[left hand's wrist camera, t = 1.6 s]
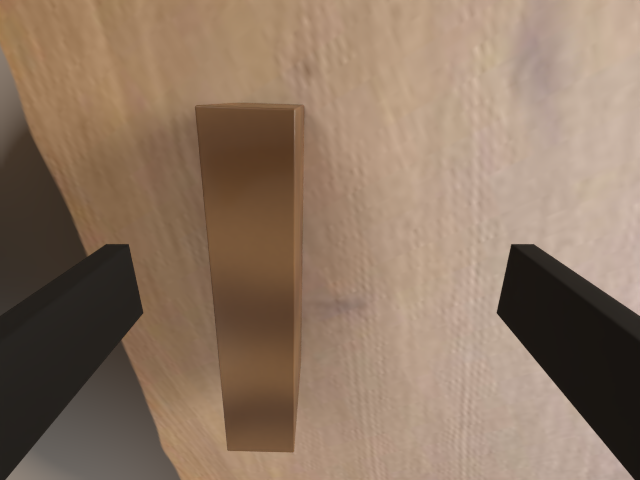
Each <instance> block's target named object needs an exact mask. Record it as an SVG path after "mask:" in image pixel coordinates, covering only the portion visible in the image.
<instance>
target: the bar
mask: <svg viewBox="0 0 640 480" xmlns="http://www.w3.org/2000/svg"><path fill="white" fill-rule="evenodd" d="M195 111H196V122H197V132H198V143H199V153H200V164H201V175H202V185H203V196H204V207H205V217H206V228H207V238H208V249H209V260H210V270H211V281H212V291H213V302H214V313H215V323H216V334H217V344H218V355H219V366H220V376H221V387H222V398H223V408H224V419H225V429H226V440H227V450H228V451H259V452H294V445H295V432H296V419H297V406H298V393H299V380H300V367H301V312H302V234H303V156H304V105H291V104H260V103H227V104H211V105H197V106H195Z"/></svg>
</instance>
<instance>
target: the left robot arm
mask: <svg viewBox="0 0 640 480" xmlns="http://www.w3.org/2000/svg"><path fill="white" fill-rule="evenodd" d="M142 314H143V309H142V305H141V300H140V295H139V291H138V286H137V281H136V277H135V272H134V267H133V263H132V258H131V253H130V249H129V244H106V245H104V246H103V247H102V248H100V249H99V250H97V251H96V252H94V253H93V254H91V255H90V256H88V257H87V258H85V259H84V260H82V261H81V262H79V263H78V264H76V265H75V266H73V267H72V268H71V269H69V270H68V271H66V272H65V273H63V274H62V275H60V276H59V277H57V278H56V279H54V280H53V281H51V282H50V283H48V284H47V285H45V286H44V287H42V288H41V289H40V290H38V291H37V292H35V293H34V294H32V295H31V296H29V297H28V298H26V299H25V300H23V301H22V302H20V303H19V304H17V305H16V306H14V307H13V308H11V309H10V310H9V311H7V312H6V313H4V314H3V315H1V316H0V480H5V479H6V478H7V477H8V476H9V475H10V473H11V472H12V471H13V470H14V469H15V467H16V466H17V465H18V464H19V463H20V461H21V460H22V459H23V458H24V457H25V455H26V454H27V453H28V452H29V451H30V449H31V448H32V447H33V446H34V444H35V443H36V442H37V441H38V440H39V438H40V437H41V436H42V435H43V434H44V432H45V431H46V430H47V429H48V428H49V426H50V425H51V424H52V423H53V422H54V420H55V419H56V418H57V417H58V415H59V414H60V413H61V412H62V411H63V409H64V408H65V407H66V406H67V405H68V403H69V402H70V401H71V400H72V398H73V397H74V396H75V395H76V394H77V392H78V391H79V390H80V389H81V388H82V386H83V385H84V384H85V383H86V382H87V380H88V379H89V378H90V377H91V376H92V374H93V373H94V372H95V371H96V369H97V368H98V367H99V366H100V365H101V363H102V362H103V361H104V360H105V359H106V357H107V356H108V355H109V354H110V353H111V351H112V350H113V349H114V348H115V347H116V345H117V344H118V343H119V342H120V341H121V339H122V338H123V337H124V336H125V335H126V333H127V332H128V331H129V330H130V328H131V327H132V326H133V325H134V324H135V322H136V321H137V320H138V319H139V318H140V316H141V315H142ZM497 314H498V315H499V316H500V318H501V319H502V320H503V321H504V322H505V324H506V325H507V326H508V327H509V328H510V330H511V331H512V332H513V333H514V335H515V336H516V337H517V338H518V339H519V341H520V342H521V343H522V344H523V345H524V347H525V348H526V349H527V350H528V351H529V353H530V354H531V355H532V356H533V357H534V359H535V360H536V361H537V362H538V364H539V365H540V366H541V367H542V368H543V370H544V371H545V372H546V373H547V374H548V376H549V377H550V378H551V379H552V380H553V382H554V383H555V384H556V385H557V386H558V388H559V389H560V390H561V391H562V393H563V394H564V395H565V396H566V397H567V399H568V400H569V401H570V402H571V403H572V405H573V406H574V407H575V408H576V409H577V411H578V412H579V413H580V414H581V415H582V417H583V418H584V419H585V420H586V422H587V423H588V424H589V425H590V426H591V428H592V429H593V430H594V431H595V432H596V434H597V435H598V436H599V437H600V438H601V440H602V441H603V442H604V443H605V444H606V446H607V447H608V448H609V449H610V451H611V452H612V453H613V454H614V455H615V457H616V458H617V459H618V460H619V461H620V463H621V464H622V465H623V466H624V467H625V469H626V470H627V471H628V472H629V473H630V475H631V476H632V477H633V478H634V480H640V316H639V315H637V314H636V313H634V312H633V311H631V310H630V309H629V308H627V307H626V306H624V305H623V304H621V303H620V302H618V301H617V300H615V299H614V298H612V297H611V296H609V295H608V294H606V293H605V292H603V291H602V290H600V289H599V288H598V287H596V286H595V285H593V284H592V283H590V282H589V281H587V280H586V279H584V278H583V277H581V276H580V275H578V274H577V273H575V272H574V271H572V270H571V269H569V268H568V267H567V266H565V265H564V264H562V263H561V262H559V261H558V260H556V259H555V258H553V257H552V256H550V255H549V254H547V253H546V252H544V251H543V250H541V249H540V248H538V247H537V246H536V245H534V244H511V249H510V253H509V258H508V263H507V267H506V272H505V277H504V281H503V286H502V291H501V295H500V300H499V305H498V309H497Z"/></svg>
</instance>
